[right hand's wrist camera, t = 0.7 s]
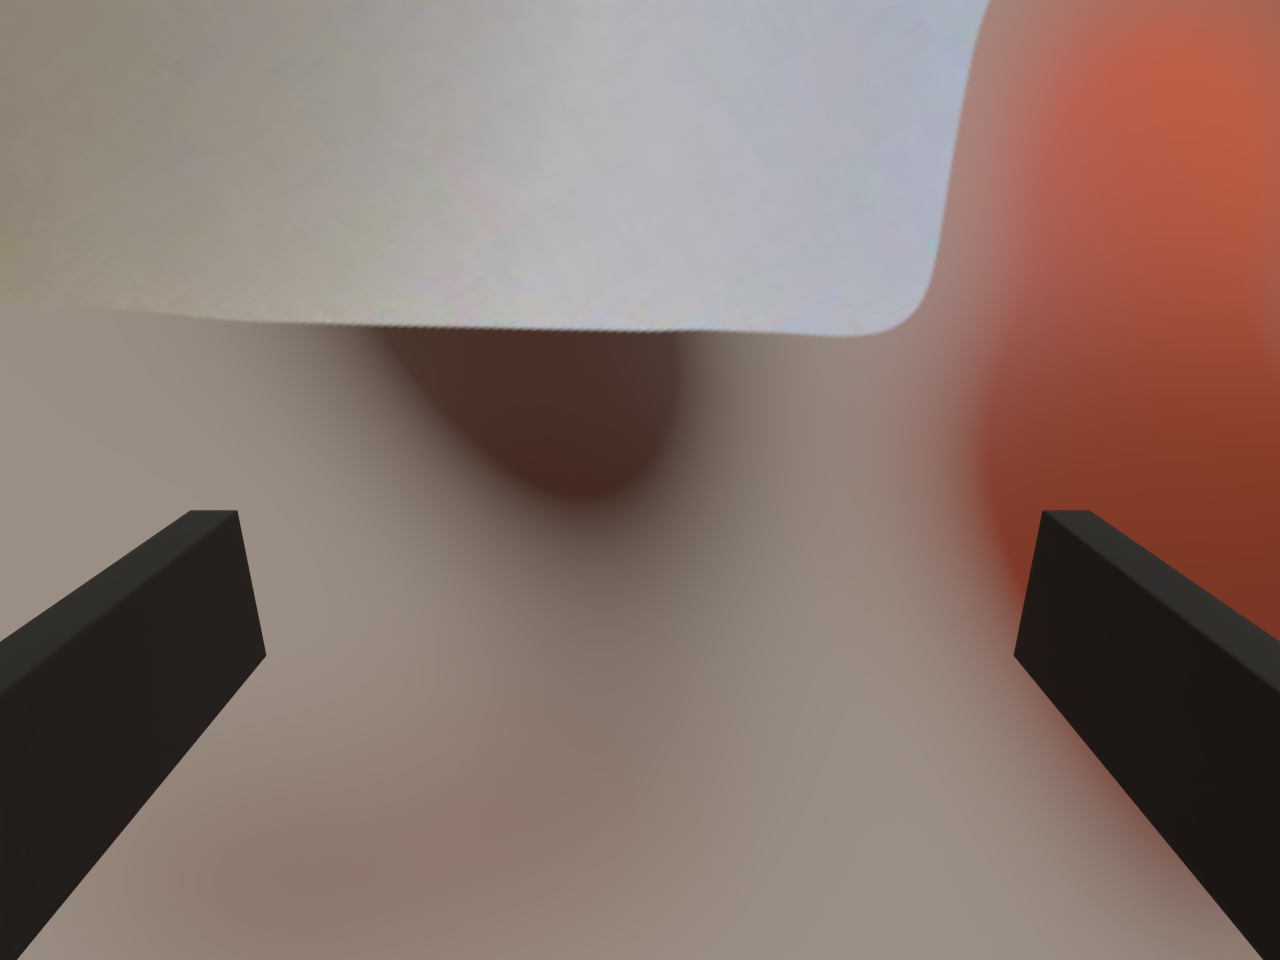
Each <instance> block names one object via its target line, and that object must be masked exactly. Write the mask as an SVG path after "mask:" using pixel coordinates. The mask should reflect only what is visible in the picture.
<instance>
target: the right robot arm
mask: <svg viewBox="0 0 1280 960" xmlns="http://www.w3.org/2000/svg"><path fill="white" fill-rule="evenodd" d="M265 656H266V651H265V646H264V641H263V636H262V632H261V626H260V621H259V616H258V611H257V606H256V601H255V596H254V591H253V586H252V581H251V576H250V572H249V566H248V561H247V556H246V551H245V546H244V541H243V536H242V531H241V526H240V521H239V516H238V511H236V510H191V511H189V512H187V513H186V514H185V515H183V516H182V517H180V518H179V519H177V520H176V521H174V522H173V523H172V524H170V525H169V526H167V527H166V528H164V529H163V530H161V531H160V532H159V533H157V534H156V535H154V536H153V537H151V538H150V539H148V540H147V541H146V542H144V543H143V544H141V545H140V546H138V547H137V548H135V549H134V550H132V551H131V552H130V553H128V554H127V555H125V556H124V557H122V558H121V559H119V560H118V561H117V562H115V563H114V564H112V565H111V566H109V567H108V568H106V569H105V570H103V571H102V572H101V573H99V574H98V575H96V576H95V577H93V578H92V579H90V580H89V581H88V582H86V583H85V584H83V585H82V586H80V587H79V588H77V589H76V590H75V591H73V592H72V593H70V594H69V595H67V596H66V597H64V598H63V599H62V600H60V601H59V602H57V603H56V604H54V605H53V606H51V607H50V608H49V609H47V610H46V611H44V612H43V613H41V614H40V615H38V616H37V617H35V618H34V619H33V620H31V621H30V622H28V623H27V624H25V625H24V626H23V627H21V628H20V629H18V630H17V631H15V632H14V633H12V634H11V635H9V636H8V637H6V638H5V639H4V640H2V641H1V642H0V960H17V959H18V958H19V956H20V955H21V954H22V953H23V952H24V950H25V949H26V948H27V947H28V945H29V944H30V943H31V942H32V941H33V939H34V938H35V937H36V936H37V934H38V933H39V932H40V931H41V930H42V928H43V927H44V926H45V925H46V924H47V922H48V921H49V920H50V919H51V917H52V916H53V915H54V914H55V913H56V911H57V910H58V909H59V908H60V906H61V905H62V904H63V903H64V902H65V900H66V899H67V898H68V897H69V895H70V894H71V893H72V892H73V891H74V889H75V888H76V887H77V886H78V885H79V883H80V882H81V881H82V880H83V878H84V877H85V876H86V875H87V873H88V872H89V871H90V870H91V869H92V867H93V866H94V865H95V864H96V863H97V861H98V860H99V859H100V858H101V856H102V855H103V854H104V853H105V852H106V850H107V849H108V848H109V847H110V845H111V844H112V843H113V842H114V841H115V839H116V838H117V837H118V836H119V835H120V833H121V832H122V831H123V830H124V828H125V827H126V826H127V825H128V824H129V822H130V821H131V820H132V819H133V817H134V816H135V815H136V814H137V813H138V811H139V810H140V809H141V808H142V806H143V805H144V804H145V803H146V802H147V800H148V799H149V798H150V797H151V796H152V794H153V793H154V792H155V791H156V789H157V788H158V787H159V786H160V784H161V783H162V782H163V781H164V780H165V778H166V777H167V776H168V775H169V774H170V772H171V771H172V770H173V769H174V767H175V766H176V765H177V764H178V763H179V761H180V760H181V759H182V758H183V756H184V755H185V754H186V753H187V752H188V750H189V749H190V748H191V747H192V746H193V744H194V743H195V742H196V741H197V739H198V738H199V737H200V736H201V734H202V733H203V732H204V731H205V730H206V728H207V727H208V726H209V725H210V724H211V722H212V721H213V720H214V719H215V717H216V716H217V715H218V714H219V713H220V711H221V710H222V709H223V708H224V706H225V705H226V704H227V703H228V702H229V700H230V699H231V698H232V697H233V696H234V694H235V693H236V692H237V691H238V689H239V688H240V687H241V686H242V684H243V683H244V682H245V681H246V680H247V678H248V677H249V676H250V675H251V674H252V672H253V671H254V670H255V669H256V667H257V666H258V665H259V664H260V663H261V661H262V660H263V659H264V658H265ZM1014 657H1015V658H1016V659H1017V660H1018V661H1019V663H1020V664H1021V665H1022V666H1023V667H1024V669H1025V670H1026V671H1027V672H1028V674H1029V675H1030V676H1031V677H1032V678H1033V680H1034V681H1035V682H1036V683H1037V685H1038V686H1039V687H1040V688H1041V689H1042V691H1043V692H1044V693H1045V694H1046V695H1047V697H1048V698H1049V699H1050V700H1051V702H1052V703H1053V704H1054V705H1055V707H1056V708H1057V709H1058V710H1059V711H1060V713H1061V714H1062V715H1063V716H1064V717H1065V719H1066V720H1067V721H1068V722H1069V723H1070V725H1071V726H1072V727H1073V728H1074V730H1075V731H1076V732H1077V733H1078V735H1079V736H1080V737H1081V738H1082V739H1083V741H1084V742H1085V743H1086V744H1087V745H1088V747H1089V748H1090V749H1091V750H1092V752H1093V753H1094V754H1095V755H1096V756H1097V758H1098V759H1099V760H1100V761H1101V763H1102V764H1103V765H1104V766H1105V767H1106V769H1107V770H1108V771H1109V772H1110V774H1111V775H1112V776H1113V777H1114V778H1115V780H1116V781H1117V782H1118V783H1119V785H1120V786H1121V787H1122V788H1123V789H1124V791H1125V792H1126V793H1127V794H1128V796H1129V797H1130V798H1131V799H1132V800H1133V802H1134V803H1135V804H1136V805H1137V806H1138V808H1139V809H1140V810H1141V811H1142V813H1143V814H1144V815H1145V816H1146V817H1147V819H1148V820H1149V821H1150V822H1151V824H1152V825H1153V826H1154V827H1155V828H1156V830H1157V831H1158V832H1159V833H1160V835H1161V836H1162V837H1163V838H1164V839H1165V841H1166V842H1167V843H1168V844H1169V846H1170V847H1171V848H1172V849H1173V850H1174V852H1175V853H1176V854H1177V855H1178V856H1179V858H1180V859H1181V860H1182V861H1183V863H1184V864H1185V865H1186V866H1187V867H1188V869H1189V870H1190V871H1191V872H1192V874H1193V875H1194V876H1195V877H1196V878H1197V880H1198V881H1199V882H1200V883H1201V884H1202V886H1203V887H1204V888H1205V889H1206V891H1207V892H1208V893H1209V894H1210V895H1211V897H1212V898H1213V899H1214V900H1215V902H1216V903H1217V904H1218V905H1219V906H1220V908H1221V909H1222V910H1223V911H1224V913H1225V914H1226V915H1227V916H1228V917H1229V919H1230V920H1231V921H1232V922H1233V924H1234V925H1235V926H1236V927H1237V928H1238V930H1239V931H1240V932H1241V933H1242V934H1243V936H1244V937H1245V938H1246V939H1247V941H1248V942H1249V943H1250V944H1251V945H1252V947H1253V948H1254V949H1255V950H1256V952H1257V953H1258V954H1259V955H1260V956H1261V958H1262V959H1263V960H1280V642H1279V641H1278V640H1276V639H1275V638H1274V637H1272V636H1271V635H1269V634H1268V633H1266V632H1265V631H1263V630H1262V629H1260V628H1259V627H1258V626H1256V625H1255V624H1253V623H1252V622H1250V621H1249V620H1247V619H1246V618H1244V617H1243V616H1242V615H1240V614H1239V613H1237V612H1236V611H1234V610H1233V609H1232V608H1230V607H1229V606H1227V605H1226V604H1224V603H1223V602H1221V601H1220V600H1219V599H1217V598H1216V597H1214V596H1213V595H1211V594H1210V593H1208V592H1207V591H1205V590H1204V589H1203V588H1201V587H1200V586H1198V585H1197V584H1195V583H1194V582H1192V581H1191V580H1190V579H1188V578H1187V577H1185V576H1184V575H1182V574H1181V573H1179V572H1178V571H1177V570H1175V569H1174V568H1172V567H1171V566H1169V565H1168V564H1166V563H1165V562H1163V561H1162V560H1161V559H1159V558H1158V557H1156V556H1155V555H1153V554H1152V553H1150V552H1149V551H1148V550H1146V549H1145V548H1143V547H1142V546H1140V545H1139V544H1137V543H1136V542H1135V541H1133V540H1132V539H1130V538H1129V537H1127V536H1126V535H1124V534H1123V533H1121V532H1120V531H1118V530H1117V529H1116V528H1114V527H1113V526H1111V525H1110V524H1108V523H1107V522H1106V521H1104V520H1103V519H1101V518H1100V517H1098V516H1097V515H1095V514H1094V513H1093V512H1091V511H1089V510H1043V511H1042V516H1041V521H1040V526H1039V531H1038V536H1037V541H1036V547H1035V551H1034V556H1033V561H1032V566H1031V571H1030V576H1029V581H1028V586H1027V591H1026V596H1025V601H1024V606H1023V611H1022V616H1021V621H1020V626H1019V632H1018V636H1017V641H1016V647H1015V652H1014Z"/></svg>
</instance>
